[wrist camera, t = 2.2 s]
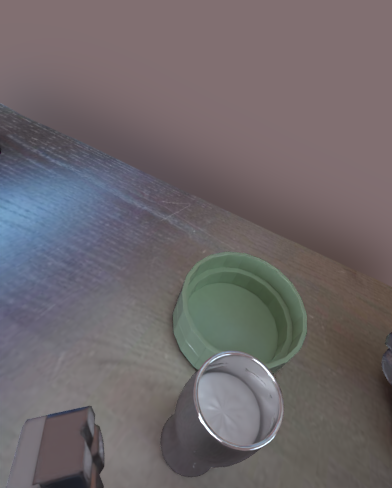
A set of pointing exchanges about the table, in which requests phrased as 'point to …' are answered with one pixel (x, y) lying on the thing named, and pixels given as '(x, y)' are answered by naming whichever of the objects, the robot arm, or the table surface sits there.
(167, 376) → the table surface
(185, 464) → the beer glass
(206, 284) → the green pan
